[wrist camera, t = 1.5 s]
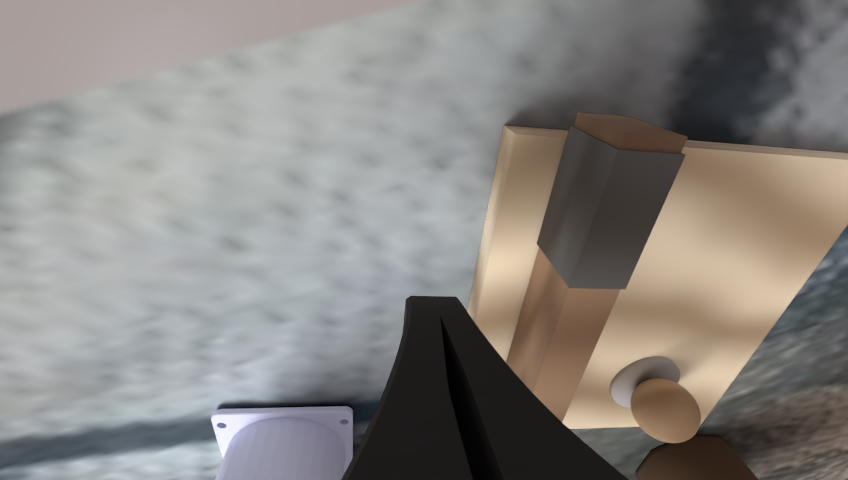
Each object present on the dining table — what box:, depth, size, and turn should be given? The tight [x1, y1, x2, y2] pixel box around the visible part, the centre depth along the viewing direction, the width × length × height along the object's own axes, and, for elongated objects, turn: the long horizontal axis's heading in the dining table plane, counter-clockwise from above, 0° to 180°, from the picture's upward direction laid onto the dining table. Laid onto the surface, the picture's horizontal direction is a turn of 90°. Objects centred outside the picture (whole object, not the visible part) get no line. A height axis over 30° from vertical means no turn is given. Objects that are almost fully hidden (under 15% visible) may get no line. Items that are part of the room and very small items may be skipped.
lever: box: [506, 112, 688, 422], centre depth 16 cm, size 18×3×3 cm, turn 175°
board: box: [467, 125, 848, 443], centre depth 18 cm, size 18×17×5 cm
